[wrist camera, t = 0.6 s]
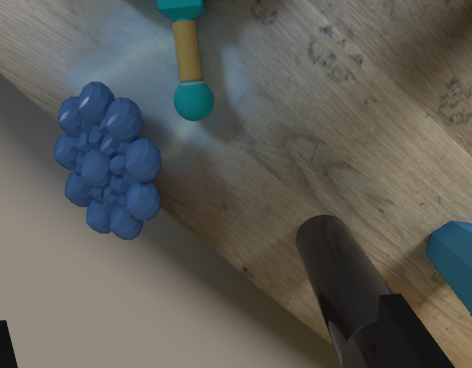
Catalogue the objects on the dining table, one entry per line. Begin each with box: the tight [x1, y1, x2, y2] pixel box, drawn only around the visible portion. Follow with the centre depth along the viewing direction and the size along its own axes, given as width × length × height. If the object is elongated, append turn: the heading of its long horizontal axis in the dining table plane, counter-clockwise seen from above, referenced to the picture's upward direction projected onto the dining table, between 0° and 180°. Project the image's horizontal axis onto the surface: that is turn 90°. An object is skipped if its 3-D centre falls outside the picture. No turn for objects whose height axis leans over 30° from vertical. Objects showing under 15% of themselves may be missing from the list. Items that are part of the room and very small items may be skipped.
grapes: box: [54, 82, 161, 240], centre depth 34 cm, size 12×7×12 cm
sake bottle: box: [296, 215, 394, 368], centre depth 29 cm, size 5×5×24 cm
